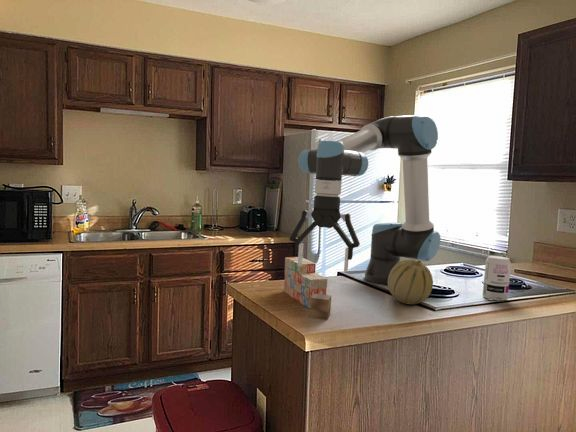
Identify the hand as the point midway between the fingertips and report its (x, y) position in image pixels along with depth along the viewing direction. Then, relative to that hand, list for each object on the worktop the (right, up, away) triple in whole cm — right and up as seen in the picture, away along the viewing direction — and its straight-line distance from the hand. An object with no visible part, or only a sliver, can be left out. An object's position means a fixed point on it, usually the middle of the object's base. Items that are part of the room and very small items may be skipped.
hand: (322, 268), depth 140 cm
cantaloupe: (+30, -14, +21) cm, 39 cm away
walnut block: (-1, -14, +2) cm, 15 cm away
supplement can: (+64, -15, +33) cm, 73 cm away
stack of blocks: (-5, -13, +20) cm, 24 cm away
